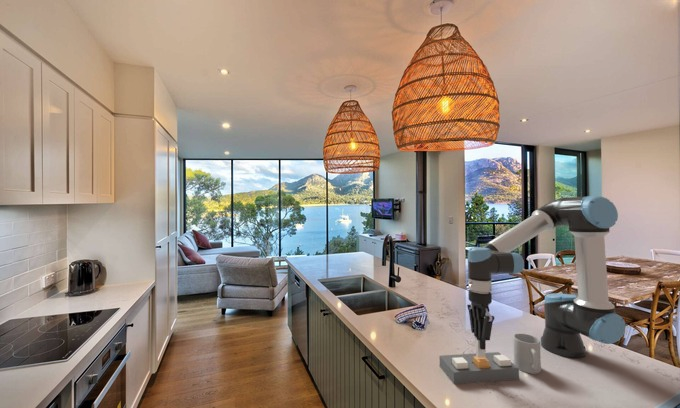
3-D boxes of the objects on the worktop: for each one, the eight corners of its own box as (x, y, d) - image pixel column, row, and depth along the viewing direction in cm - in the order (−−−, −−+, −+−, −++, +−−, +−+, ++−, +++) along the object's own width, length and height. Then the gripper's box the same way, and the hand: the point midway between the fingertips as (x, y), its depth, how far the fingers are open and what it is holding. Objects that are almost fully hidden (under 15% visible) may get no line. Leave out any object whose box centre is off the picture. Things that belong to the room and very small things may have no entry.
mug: (510, 360, 111) (509, 332, 111) (534, 362, 109) (533, 334, 109) (523, 378, 99) (523, 347, 99) (550, 381, 97) (550, 349, 97)
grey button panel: (498, 362, 109) (498, 346, 109) (519, 379, 98) (518, 361, 98) (439, 366, 107) (439, 349, 107) (453, 384, 96) (453, 365, 96)
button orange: (483, 364, 102) (483, 355, 102) (489, 370, 99) (489, 361, 99) (473, 365, 102) (472, 356, 102) (478, 371, 98) (478, 361, 98)
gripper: (460, 286, 107) (461, 348, 106) (480, 296, 94) (481, 367, 93) (479, 285, 108) (479, 347, 107) (501, 295, 95) (502, 366, 94)
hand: (480, 356), depth 100 cm, fingers closed
